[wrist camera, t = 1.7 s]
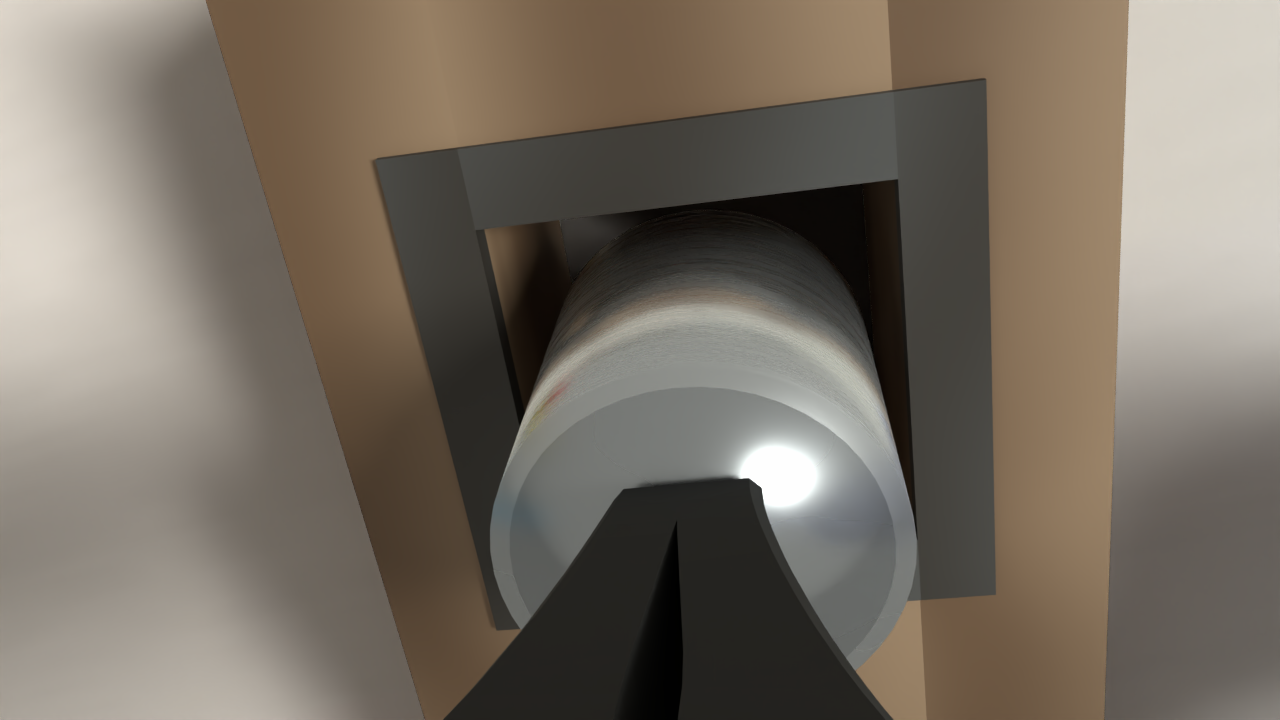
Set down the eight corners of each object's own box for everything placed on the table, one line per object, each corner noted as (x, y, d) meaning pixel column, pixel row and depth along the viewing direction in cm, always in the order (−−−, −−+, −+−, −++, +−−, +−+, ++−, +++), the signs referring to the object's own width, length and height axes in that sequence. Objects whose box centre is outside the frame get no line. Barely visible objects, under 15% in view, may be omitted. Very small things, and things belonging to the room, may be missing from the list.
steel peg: (856, 190, 14) (906, 345, 10) (876, 477, 16) (926, 707, 12) (527, 230, 14) (446, 392, 10) (583, 503, 16) (533, 731, 12)
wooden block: (1020, -194, 16) (1139, -196, 11) (1026, 958, 26) (1089, 1206, 21) (335, -83, 17) (187, -43, 12) (599, 971, 27) (571, 1207, 23)
